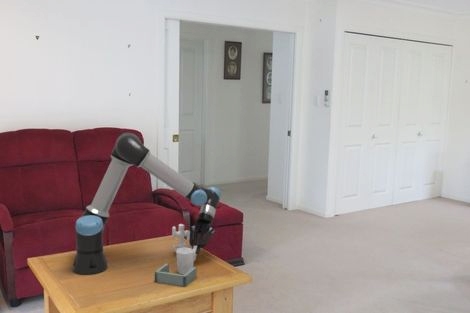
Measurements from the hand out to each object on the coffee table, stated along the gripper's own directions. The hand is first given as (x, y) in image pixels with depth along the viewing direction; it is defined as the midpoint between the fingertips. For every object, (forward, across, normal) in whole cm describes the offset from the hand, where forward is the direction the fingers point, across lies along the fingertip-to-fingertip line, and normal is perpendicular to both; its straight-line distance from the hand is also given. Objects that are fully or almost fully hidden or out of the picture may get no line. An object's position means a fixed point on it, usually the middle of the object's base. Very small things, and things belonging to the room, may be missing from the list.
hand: (192, 259), depth 221 cm
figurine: (-8, +13, -13) cm, 20 cm away
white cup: (+8, 0, +2) cm, 8 cm away
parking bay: (+14, 0, +9) cm, 16 cm away
